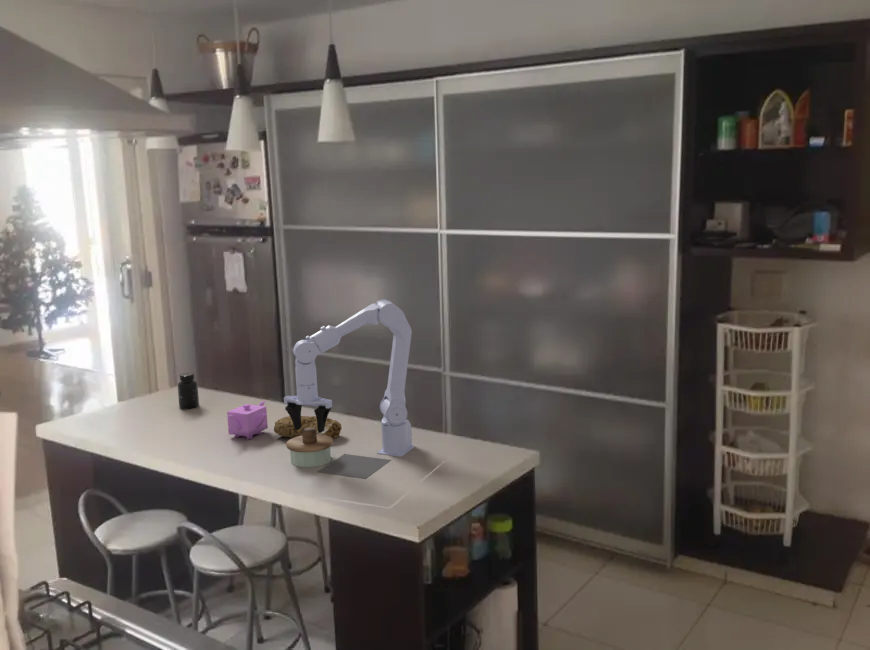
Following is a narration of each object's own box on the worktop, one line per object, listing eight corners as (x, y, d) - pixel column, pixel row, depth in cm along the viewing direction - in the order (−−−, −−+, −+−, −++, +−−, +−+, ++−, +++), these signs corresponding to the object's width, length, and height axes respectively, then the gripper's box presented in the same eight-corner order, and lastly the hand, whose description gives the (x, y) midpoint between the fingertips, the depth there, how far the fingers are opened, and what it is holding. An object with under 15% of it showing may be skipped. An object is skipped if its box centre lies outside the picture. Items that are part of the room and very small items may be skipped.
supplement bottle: (175, 409, 283) (172, 376, 281) (184, 404, 290) (182, 371, 288) (194, 409, 282) (191, 376, 280) (202, 404, 289) (200, 371, 287)
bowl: (305, 452, 235) (304, 436, 235) (337, 457, 231) (337, 440, 230) (283, 465, 226) (282, 448, 225) (317, 470, 221) (316, 452, 220)
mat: (344, 455, 233) (344, 453, 232) (391, 461, 227) (391, 459, 226) (316, 473, 219) (316, 471, 219) (365, 480, 213) (365, 478, 213)
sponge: (345, 439, 251) (297, 417, 261) (344, 417, 247) (296, 396, 257) (316, 459, 241) (268, 435, 251) (316, 437, 238) (266, 414, 247)
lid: (303, 435, 236) (302, 420, 235) (341, 439, 231) (341, 425, 230) (277, 449, 224) (276, 434, 223) (317, 454, 219) (316, 439, 218)
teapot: (248, 446, 242) (246, 415, 241) (214, 441, 248) (211, 410, 246) (285, 429, 258) (283, 399, 256) (252, 424, 264) (250, 395, 262)
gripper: (276, 385, 223) (279, 432, 226) (321, 389, 218) (324, 437, 220) (290, 378, 230) (293, 424, 232) (334, 382, 224) (337, 429, 227)
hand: (309, 430), depth 227 cm, fingers open, 7 cm apart
